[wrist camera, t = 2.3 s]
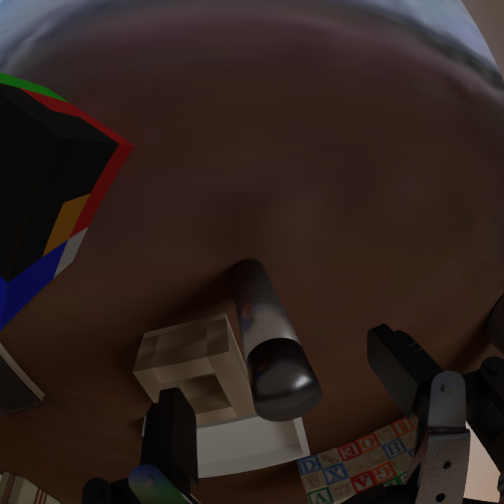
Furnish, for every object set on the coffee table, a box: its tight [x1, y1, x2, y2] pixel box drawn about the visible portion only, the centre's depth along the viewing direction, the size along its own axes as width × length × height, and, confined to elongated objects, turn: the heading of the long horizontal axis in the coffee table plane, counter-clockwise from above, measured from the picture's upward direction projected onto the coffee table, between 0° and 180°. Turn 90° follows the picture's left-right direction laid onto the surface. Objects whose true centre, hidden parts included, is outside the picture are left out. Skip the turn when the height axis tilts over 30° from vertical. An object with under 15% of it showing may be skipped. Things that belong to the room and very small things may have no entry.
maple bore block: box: [133, 312, 256, 425], centre depth 20 cm, size 7×7×5 cm
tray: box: [142, 413, 310, 478], centre depth 25 cm, size 16×12×3 cm
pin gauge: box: [231, 259, 322, 422], centre depth 15 cm, size 3×3×12 cm
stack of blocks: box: [296, 416, 419, 504], centre depth 27 cm, size 21×6×12 cm, turn 102°
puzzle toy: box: [0, 73, 135, 331], centre depth 11 cm, size 10×10×10 cm
